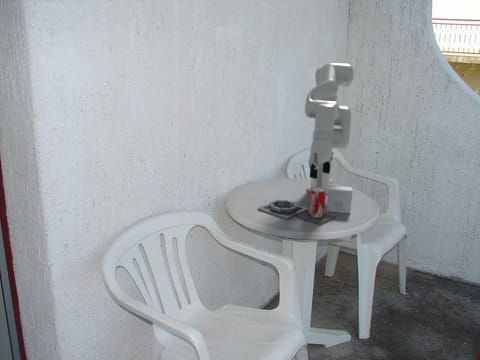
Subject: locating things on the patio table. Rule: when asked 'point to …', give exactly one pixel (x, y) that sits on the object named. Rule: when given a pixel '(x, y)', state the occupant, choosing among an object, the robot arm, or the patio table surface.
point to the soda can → (316, 202)
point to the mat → (316, 220)
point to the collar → (283, 209)
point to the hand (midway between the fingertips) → (319, 175)
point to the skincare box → (339, 199)
